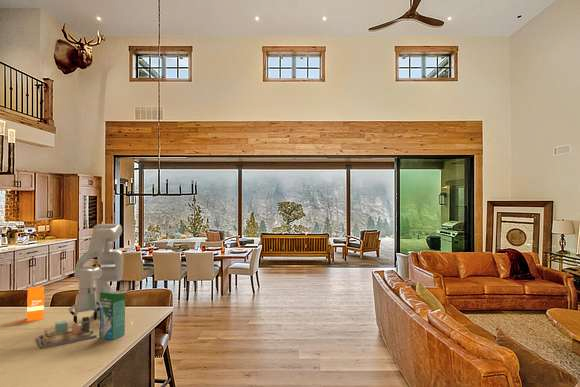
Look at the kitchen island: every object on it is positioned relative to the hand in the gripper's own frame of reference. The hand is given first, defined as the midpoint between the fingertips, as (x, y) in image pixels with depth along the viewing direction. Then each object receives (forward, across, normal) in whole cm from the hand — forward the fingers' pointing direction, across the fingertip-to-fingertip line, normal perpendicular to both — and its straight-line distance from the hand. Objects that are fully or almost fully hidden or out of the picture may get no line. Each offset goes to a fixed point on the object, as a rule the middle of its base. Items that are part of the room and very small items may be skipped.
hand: (85, 321), depth 212 cm
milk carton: (+7, -10, +17) cm, 21 cm away
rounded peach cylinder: (+4, +6, +8) cm, 11 cm away
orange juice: (+6, +20, -49) cm, 53 cm away
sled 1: (+6, +9, -1) cm, 11 cm away
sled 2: (+7, +10, +8) cm, 15 cm away
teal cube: (+4, +12, -1) cm, 12 cm away
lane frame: (+6, +9, +4) cm, 12 cm away
